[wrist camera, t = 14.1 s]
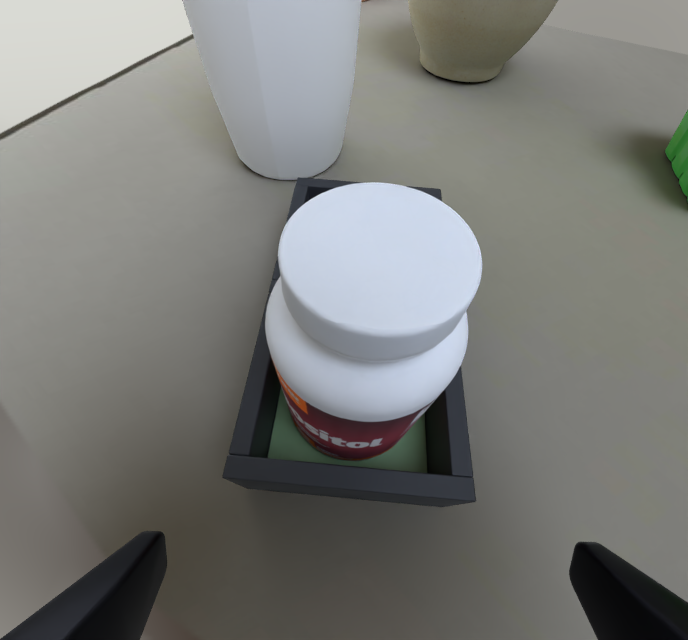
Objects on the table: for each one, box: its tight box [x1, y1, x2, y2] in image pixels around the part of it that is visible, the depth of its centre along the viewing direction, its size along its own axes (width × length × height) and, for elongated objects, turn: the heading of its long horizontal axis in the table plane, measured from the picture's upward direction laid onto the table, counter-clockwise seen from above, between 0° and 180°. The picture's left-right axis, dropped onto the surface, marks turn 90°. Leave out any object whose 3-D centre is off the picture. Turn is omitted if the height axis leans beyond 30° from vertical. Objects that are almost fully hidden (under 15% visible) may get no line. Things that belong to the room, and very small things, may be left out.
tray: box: [223, 177, 476, 507], centre depth 18 cm, size 17×9×4 cm, turn 175°
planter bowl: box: [408, 0, 558, 82], centre depth 35 cm, size 16×16×11 cm
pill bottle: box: [265, 182, 482, 461], centre depth 12 cm, size 6×6×11 cm
